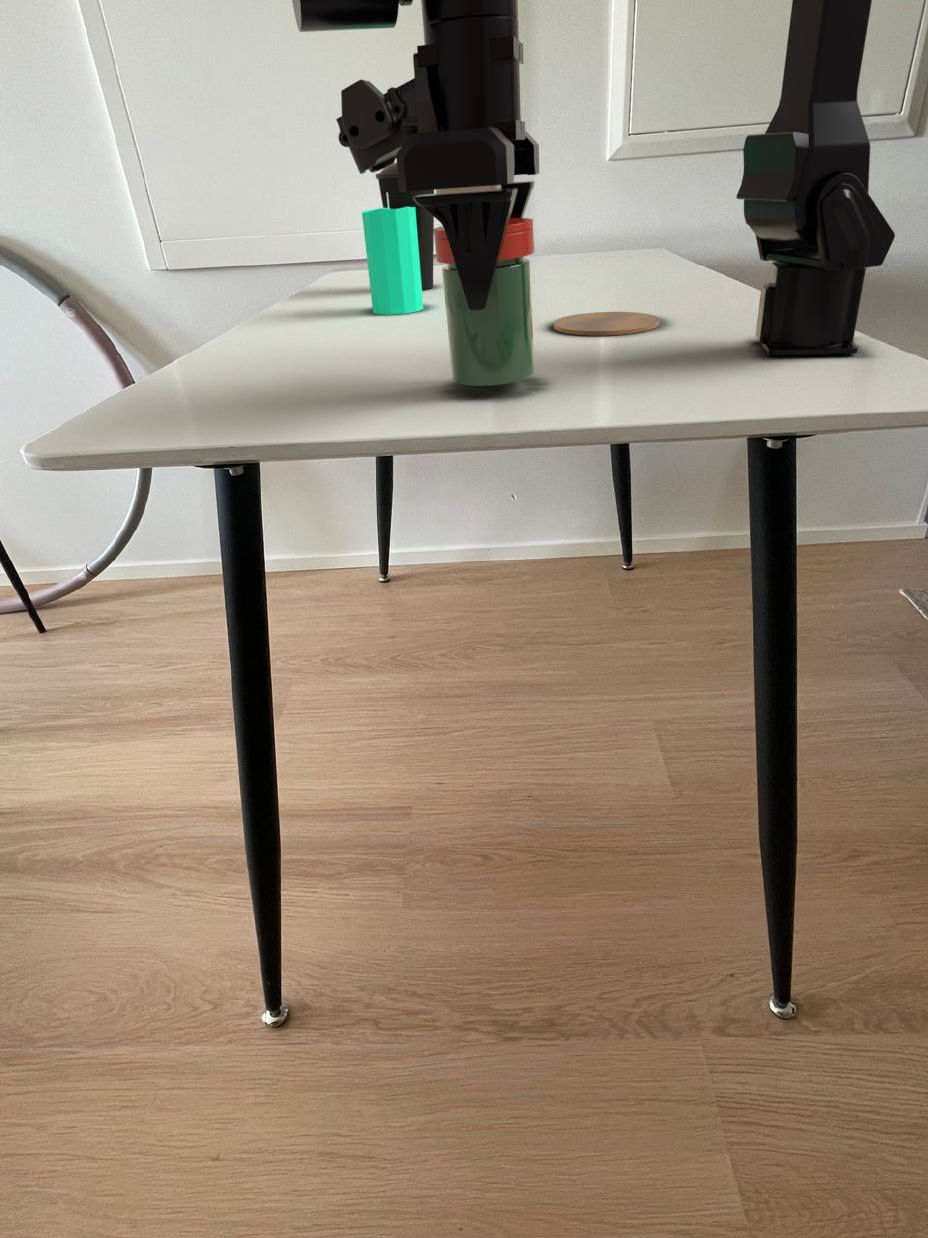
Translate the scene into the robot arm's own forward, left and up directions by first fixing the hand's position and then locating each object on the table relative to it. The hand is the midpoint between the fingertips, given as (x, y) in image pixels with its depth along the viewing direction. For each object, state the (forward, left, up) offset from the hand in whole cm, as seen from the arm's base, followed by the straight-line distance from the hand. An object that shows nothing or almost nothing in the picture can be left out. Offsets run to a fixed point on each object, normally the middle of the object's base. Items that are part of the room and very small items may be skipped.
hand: (484, 301), depth 55 cm
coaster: (-8, -23, -6) cm, 25 cm away
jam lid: (0, 0, +4) cm, 4 cm away
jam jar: (0, 0, -5) cm, 5 cm away
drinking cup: (+18, -53, -6) cm, 56 cm away
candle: (+16, -36, -6) cm, 40 cm away
